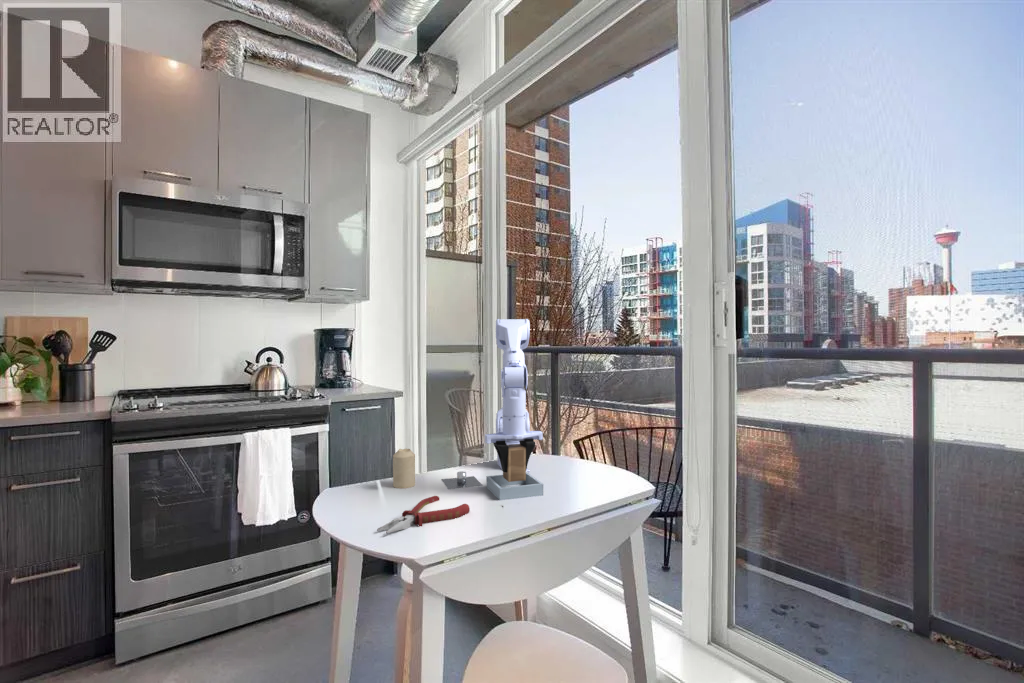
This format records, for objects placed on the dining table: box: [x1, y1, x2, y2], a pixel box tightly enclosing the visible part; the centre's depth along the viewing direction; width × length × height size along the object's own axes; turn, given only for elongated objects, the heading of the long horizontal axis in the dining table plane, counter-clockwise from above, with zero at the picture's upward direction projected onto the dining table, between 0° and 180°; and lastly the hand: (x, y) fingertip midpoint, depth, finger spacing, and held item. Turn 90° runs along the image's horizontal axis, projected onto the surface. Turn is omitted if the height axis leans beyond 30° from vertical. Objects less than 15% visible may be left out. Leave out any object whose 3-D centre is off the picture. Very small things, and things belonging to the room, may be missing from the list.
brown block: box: [502, 444, 527, 482], centre depth 122 cm, size 4×4×8 cm
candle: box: [392, 448, 416, 489], centre depth 127 cm, size 6×6×10 cm
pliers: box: [376, 495, 471, 534], centre depth 105 cm, size 12×20×3 cm, turn 143°
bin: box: [485, 471, 544, 501], centre depth 122 cm, size 11×11×4 cm
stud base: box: [441, 471, 484, 490], centre depth 130 cm, size 9×9×3 cm
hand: (514, 470), depth 122 cm, fingers closed on brown block, 4 cm apart
